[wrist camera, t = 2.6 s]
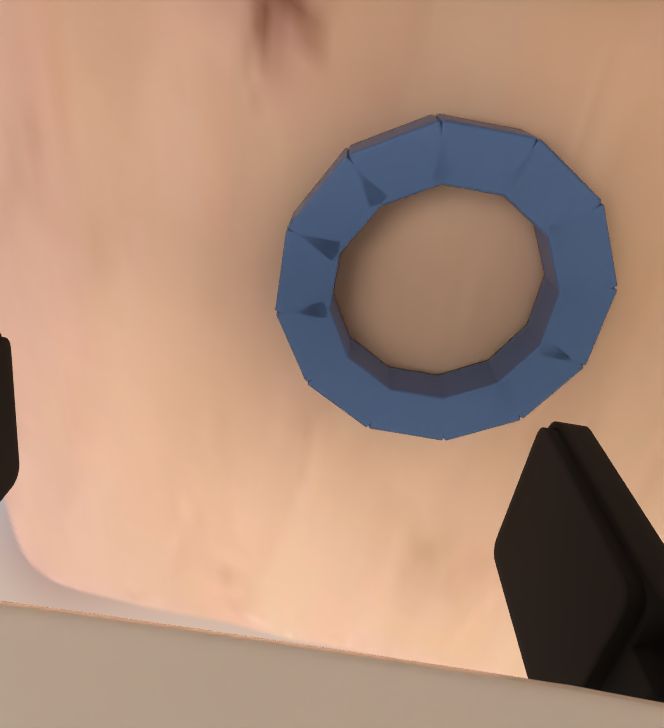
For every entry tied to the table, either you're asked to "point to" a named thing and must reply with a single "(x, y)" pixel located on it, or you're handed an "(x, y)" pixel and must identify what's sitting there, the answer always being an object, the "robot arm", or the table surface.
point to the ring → (517, 357)
